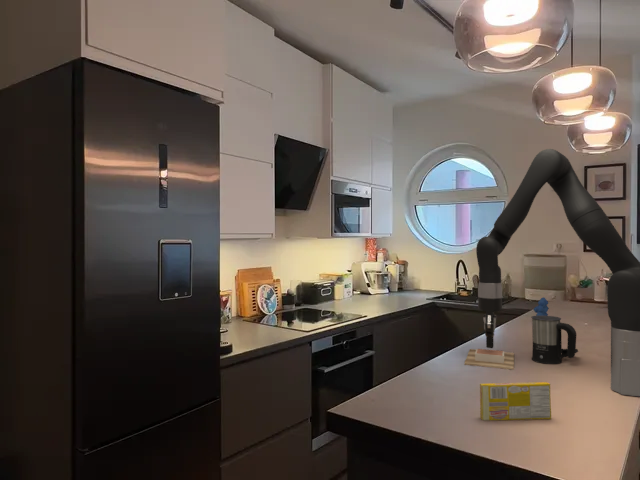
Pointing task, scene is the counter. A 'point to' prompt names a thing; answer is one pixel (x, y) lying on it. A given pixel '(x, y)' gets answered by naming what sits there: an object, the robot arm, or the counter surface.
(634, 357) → the robot arm
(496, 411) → the candy box
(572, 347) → the milk frother
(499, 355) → the card box
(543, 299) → the grapes
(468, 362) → the mat
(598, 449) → the counter surface
